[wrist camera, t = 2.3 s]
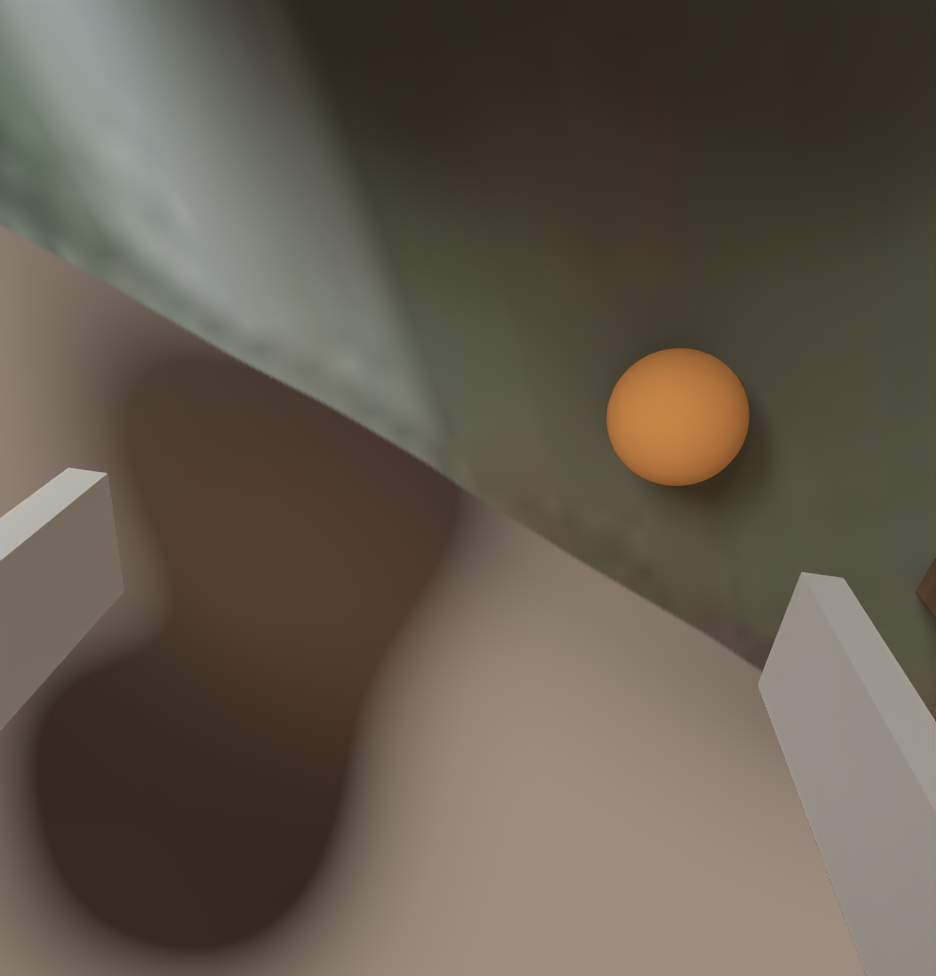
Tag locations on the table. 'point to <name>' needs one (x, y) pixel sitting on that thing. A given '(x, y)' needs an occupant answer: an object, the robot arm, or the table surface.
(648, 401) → the ball
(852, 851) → the robot arm
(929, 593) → the bridge
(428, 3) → the table surface
